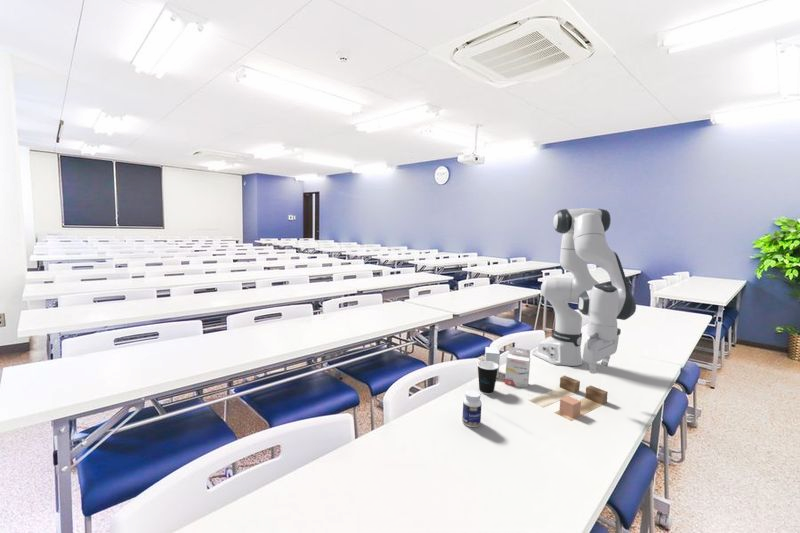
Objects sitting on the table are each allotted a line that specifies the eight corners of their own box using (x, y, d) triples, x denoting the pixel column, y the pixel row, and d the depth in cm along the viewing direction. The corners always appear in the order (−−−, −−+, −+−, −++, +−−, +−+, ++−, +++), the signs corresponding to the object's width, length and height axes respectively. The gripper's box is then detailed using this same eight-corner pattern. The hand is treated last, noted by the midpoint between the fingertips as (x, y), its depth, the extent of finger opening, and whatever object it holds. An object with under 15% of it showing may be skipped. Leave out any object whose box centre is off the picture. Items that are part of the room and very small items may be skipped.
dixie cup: (493, 388, 140) (495, 360, 139) (500, 397, 132) (501, 369, 131) (473, 388, 140) (474, 360, 139) (478, 397, 132) (479, 368, 131)
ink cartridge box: (504, 385, 142) (506, 349, 141) (506, 380, 147) (508, 345, 145) (527, 390, 139) (529, 353, 137) (528, 385, 143) (530, 349, 142)
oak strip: (553, 414, 120) (554, 401, 119) (589, 397, 132) (590, 385, 131) (571, 423, 115) (572, 408, 114) (606, 404, 127) (607, 391, 127)
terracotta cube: (559, 412, 120) (560, 399, 120) (567, 408, 123) (568, 395, 122) (572, 418, 116) (573, 404, 116) (579, 414, 119) (580, 401, 118)
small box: (498, 378, 149) (500, 353, 148) (484, 377, 150) (486, 352, 149) (497, 370, 157) (498, 347, 156) (484, 369, 158) (485, 346, 157)
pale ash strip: (528, 402, 128) (529, 389, 127) (564, 387, 140) (564, 375, 140) (543, 409, 123) (544, 396, 122) (578, 393, 135) (579, 381, 135)
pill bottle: (469, 429, 111) (471, 399, 110) (458, 420, 116) (459, 391, 115) (484, 425, 114) (485, 395, 113) (472, 416, 119) (474, 387, 118)
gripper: (599, 338, 116) (595, 380, 118) (622, 329, 130) (619, 366, 131) (579, 334, 121) (576, 373, 123) (604, 325, 134) (601, 361, 136)
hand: (598, 369), depth 127 cm, fingers open, 8 cm apart
